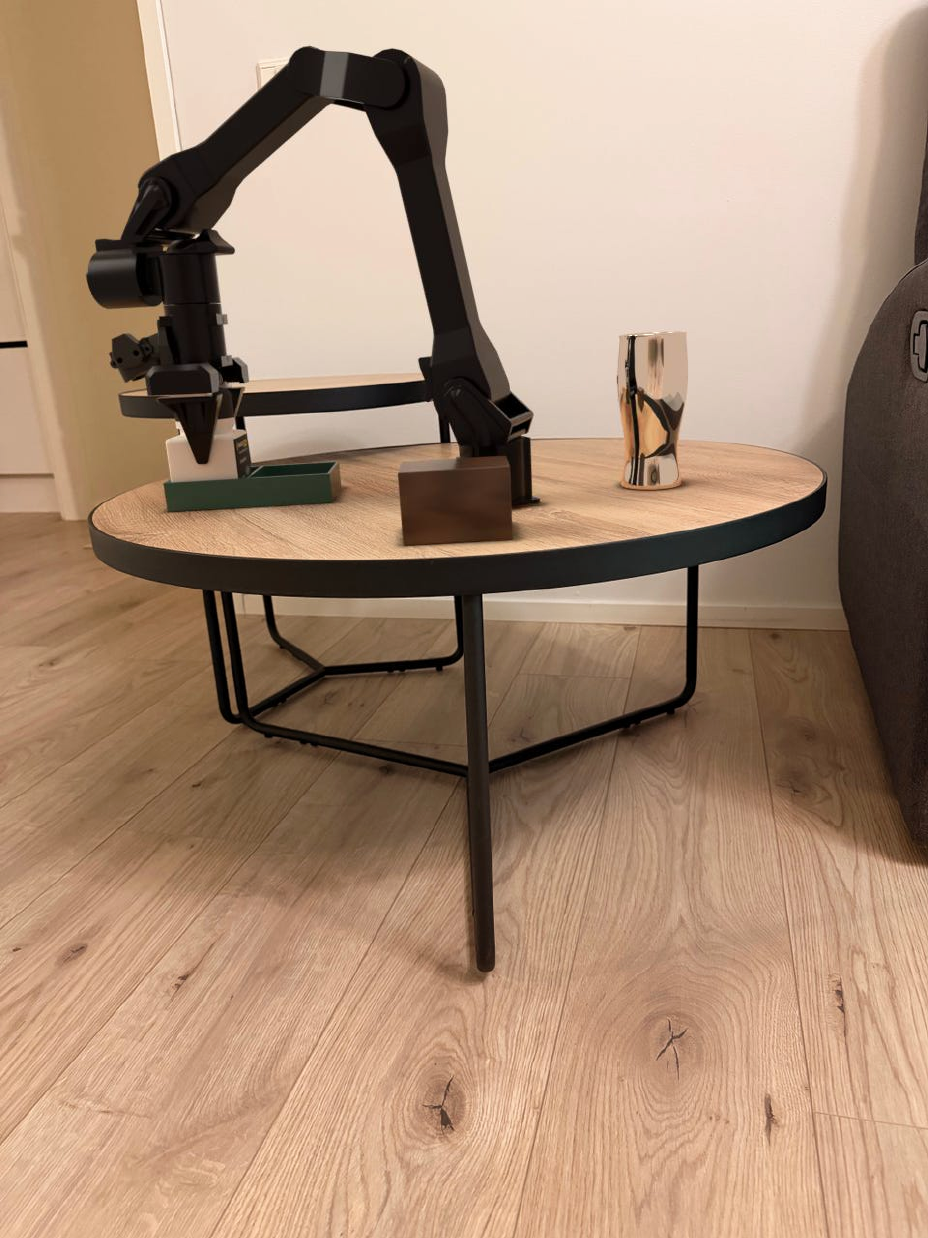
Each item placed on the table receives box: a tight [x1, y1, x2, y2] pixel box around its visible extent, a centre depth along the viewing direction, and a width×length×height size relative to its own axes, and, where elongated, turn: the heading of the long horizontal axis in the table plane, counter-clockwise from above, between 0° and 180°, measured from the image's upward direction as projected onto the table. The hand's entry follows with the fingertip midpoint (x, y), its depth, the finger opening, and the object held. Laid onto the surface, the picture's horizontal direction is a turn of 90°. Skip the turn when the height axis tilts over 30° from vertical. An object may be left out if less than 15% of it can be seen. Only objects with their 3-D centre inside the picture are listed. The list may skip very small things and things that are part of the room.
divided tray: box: [163, 461, 342, 513], centre depth 99 cm, size 17×9×3 cm, turn 91°
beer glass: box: [616, 330, 689, 491], centre depth 93 cm, size 7×7×15 cm
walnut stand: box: [397, 456, 514, 546], centre depth 77 cm, size 9×6×6 cm, turn 91°
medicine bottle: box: [165, 387, 252, 482], centre depth 98 cm, size 7×7×12 cm
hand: (211, 458), depth 98 cm, fingers closed on medicine bottle, 7 cm apart
